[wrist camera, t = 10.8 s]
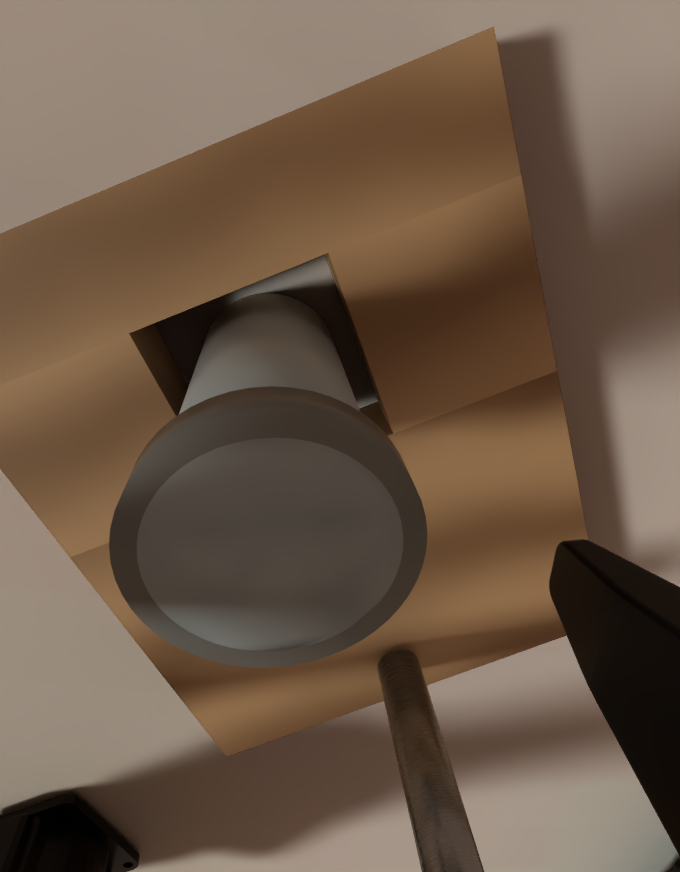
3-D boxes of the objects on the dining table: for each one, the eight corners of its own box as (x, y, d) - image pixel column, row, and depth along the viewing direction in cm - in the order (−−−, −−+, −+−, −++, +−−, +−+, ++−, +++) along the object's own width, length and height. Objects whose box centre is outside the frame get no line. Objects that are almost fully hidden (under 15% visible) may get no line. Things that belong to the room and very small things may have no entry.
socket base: (571, 579, 23) (603, 622, 21) (229, 702, 24) (226, 756, 22) (458, 48, 14) (493, 26, 12) (-80, 273, 15) (-139, 291, 13)
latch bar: (418, 646, 20) (522, 974, 12) (419, 676, 21) (517, 1003, 13) (-130, 730, 19) (-437, 1166, 11) (-109, 758, 19) (-381, 1187, 11)
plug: (367, 397, 19) (459, 608, 10) (232, 449, 19) (201, 701, 10) (313, 254, 16) (370, 359, 7) (161, 316, 17) (39, 489, 8)
